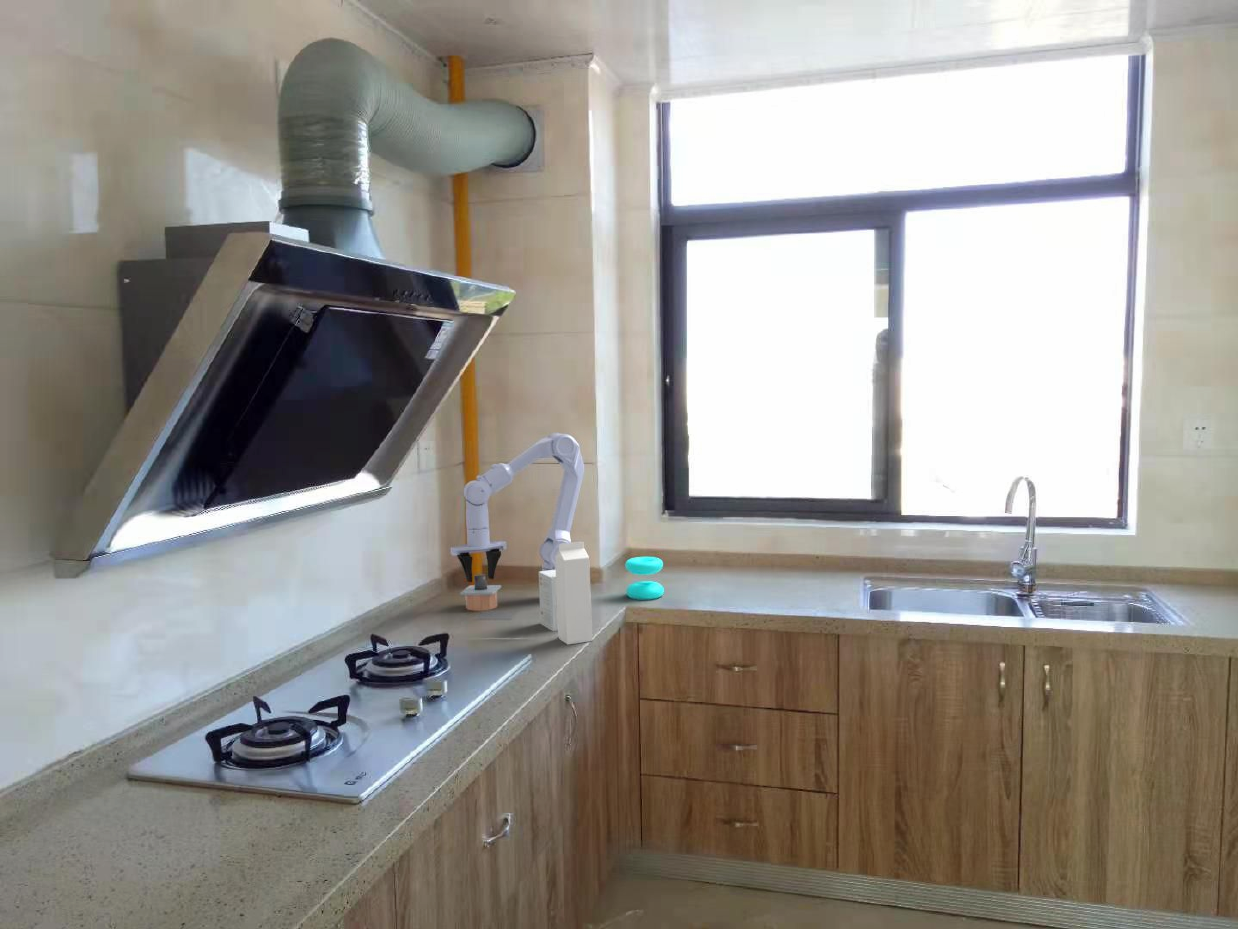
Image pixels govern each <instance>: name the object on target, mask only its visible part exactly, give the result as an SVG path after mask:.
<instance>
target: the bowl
mask: <svg viewBox="0 0 1238 929" xmlns="http://www.w3.org/2000/svg"><path fill="white" fill-rule="evenodd" d="M464 596H465V597H464V598H465V609H466V610H468V611H473V612H475V611H477V612H478V611H479V612H481V611H491V610H492V609H493V610H494V609H495V608H497V607H498V591H496V592H495V593H494V594H493V595H464Z"/></svg>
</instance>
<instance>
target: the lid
mask: <svg viewBox="0 0 1238 929" xmlns="http://www.w3.org/2000/svg"><path fill="white" fill-rule="evenodd" d="M487 577H488V574H485V573H483V574H481V573H479V574H475V575H473V581H474V584H473V585H470V584H469V585H468V586H467V587H466V588H465V589H463V590H462V591H460V593H459V594H460V596H465V595H493V594H494V593H495V592H496V591H497V592H498V591H499V590H500V589H501V588H502V585H501V584H498V585H497V584H496V585H495V584H493V585H492V584H489V585H488V578H487Z"/></svg>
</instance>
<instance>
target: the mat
mask: <svg viewBox="0 0 1238 929" xmlns="http://www.w3.org/2000/svg"><path fill="white" fill-rule="evenodd" d="M519 612H520V610H483V612H481V614H479V615H478V616H477V617H475V619H474V620H476V621H477V620H478V621H503V620H504V621H510V620H512V619H513V618H514V617H515V616H516V615H517V614H518V613H519Z"/></svg>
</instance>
